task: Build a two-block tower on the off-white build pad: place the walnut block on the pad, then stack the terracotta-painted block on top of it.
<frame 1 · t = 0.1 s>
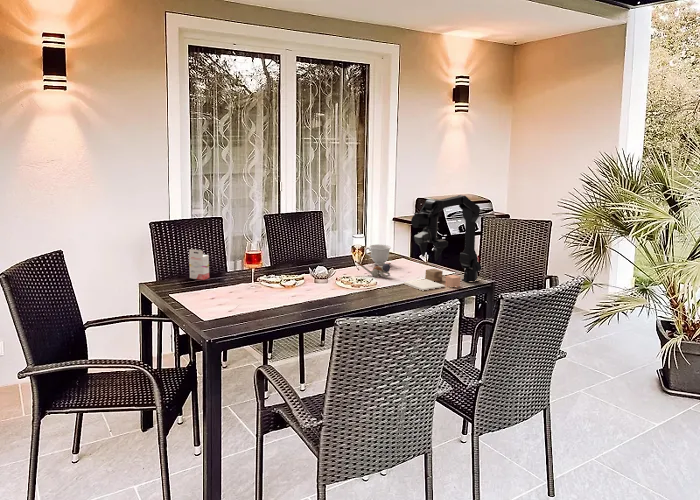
hand: (429, 258, 280), 15 cm above the table, fingers open, 9 cm apart
teacup: (377, 264, 329), on the table
walnut block: (433, 279, 299), on the table
build pad: (424, 285, 287), on the table
clay block: (452, 286, 288), on the table
toy: (373, 276, 304), on the table
ink cartridge box: (199, 278, 289), on the table
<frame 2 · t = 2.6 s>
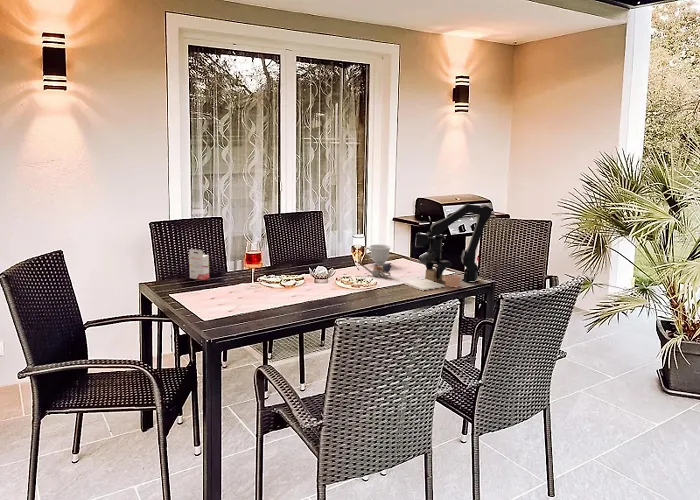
hand: (433, 277, 299), 1 cm above the table, fingers closed on walnut block, 6 cm apart
walnut block: (433, 279, 299), on the table, touching gripper
everything else where it was.
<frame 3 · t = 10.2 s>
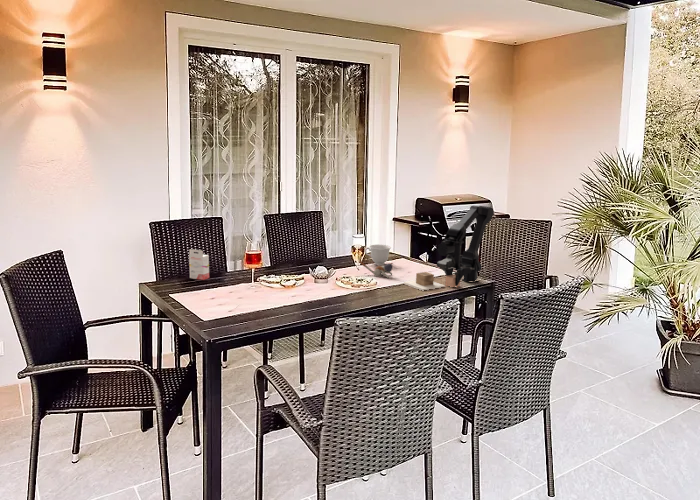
hand: (452, 284, 287), 1 cm above the table, fingers closed on clay block, 5 cm apart
walnut block: (424, 283, 287), point 1 cm above the table, touching build pad
clay block: (452, 286, 287), on the table, touching gripper
when the fingers open (8 cm above the table, at t = 13.4 s): clay block drops 1 cm, resting on walnut block.
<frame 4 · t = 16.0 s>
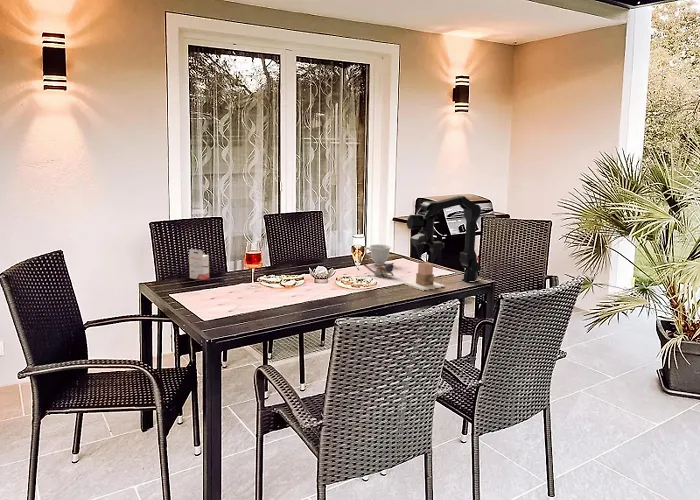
hand: (425, 259, 284), 13 cm above the table, fingers open, 9 cm apart
walnut block: (424, 283, 287), point 1 cm above the table, touching build pad, clay block
clay block: (425, 273, 285), point 6 cm above the table, touching walnut block
at the end: walnut block inside the target area on the build pad (0.0 cm from its centre), point 1.0 cm above the build pad's base; clay block 0.0 cm off-centre on the walnut block, point 5.0 cm above the walnut block's base; the gripper is holding nothing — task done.
